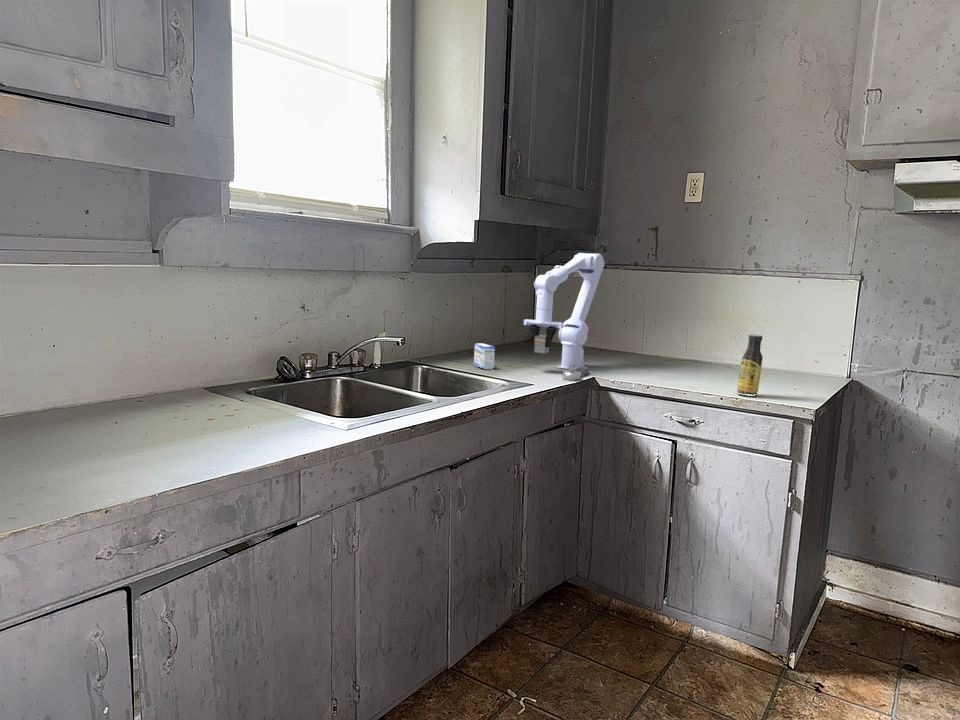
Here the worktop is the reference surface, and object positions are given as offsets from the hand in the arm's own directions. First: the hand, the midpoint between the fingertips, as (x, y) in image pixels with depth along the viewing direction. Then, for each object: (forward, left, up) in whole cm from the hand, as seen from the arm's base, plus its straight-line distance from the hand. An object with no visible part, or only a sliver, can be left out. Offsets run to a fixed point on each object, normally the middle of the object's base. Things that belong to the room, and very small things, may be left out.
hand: (542, 346), depth 239 cm
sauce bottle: (-6, +70, -10) cm, 71 cm away
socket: (0, 0, -2) cm, 2 cm away
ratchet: (0, +14, -9) cm, 17 cm away
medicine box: (+6, -20, -10) cm, 23 cm away
